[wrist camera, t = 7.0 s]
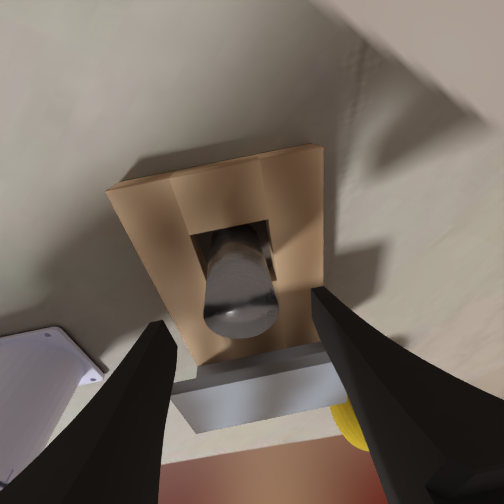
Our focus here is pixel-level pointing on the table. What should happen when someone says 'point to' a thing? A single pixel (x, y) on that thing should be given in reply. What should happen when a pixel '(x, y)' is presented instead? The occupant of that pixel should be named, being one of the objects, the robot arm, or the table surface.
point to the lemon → (349, 424)
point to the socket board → (279, 265)
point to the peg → (238, 285)
